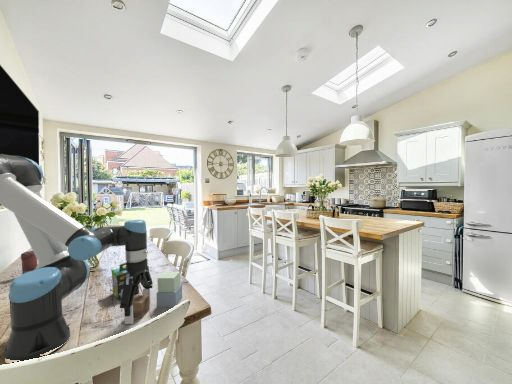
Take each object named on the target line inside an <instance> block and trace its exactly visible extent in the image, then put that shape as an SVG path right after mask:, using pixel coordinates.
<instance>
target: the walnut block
mask: <svg viewBox="0 0 512 384" xmlns="http://www.w3.org/2000/svg"><path fill="white" fill-rule="evenodd" d="M132 305H133V319H143V318H144V316H146V314H147V313H148V312H149V311H150V309H151V308H150V305H151V304H150V305H149V295H143V294H142V295H141V294H140V295H139V294H138V295H137V294H134V298H133V301H132Z"/></svg>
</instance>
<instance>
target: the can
mask: <svg viewBox="0 0 512 384" xmlns="http://www.w3.org/2000/svg"><path fill="white" fill-rule="evenodd" d="M20 261H21V272H22V274H24V273H27V272H30V271H33V270H36V269H35V268H36V267H37V265H38V259H37V257H36V256H35V254H34V252H33V250H29V251H25V252H22V253H21V254H20ZM22 274H21V275H22Z"/></svg>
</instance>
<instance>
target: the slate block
mask: <svg viewBox="0 0 512 384" xmlns="http://www.w3.org/2000/svg"><path fill="white" fill-rule="evenodd" d="M155 296H156V308H163V307H164V308H165V307H166V306H171V307H170V308H172V307H173V306H175V305H177V306H178V305H179V303H180V302H181V300H182V298H183V284H181V283H180V286H179V287H178V288H177V290H176V291H175V292H158V291H157V292H156V294H155ZM180 299H181V300H180ZM166 308H167V307H166ZM173 308H174V307H173Z"/></svg>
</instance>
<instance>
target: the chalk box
mask: <svg viewBox="0 0 512 384" xmlns="http://www.w3.org/2000/svg"><path fill="white" fill-rule="evenodd" d="M129 276H130V273H129V272H127V271H126V262H123V263H120V264H119V268H115V269H112V270H111V283H112V295H114V297H115V298H116V299H117V300H118V301H119V300H121V298H122V293H123V288H124V279H125V278H129ZM132 285H133V284H132ZM139 285H140V284H139ZM139 285H138V287H137V288H136V291H135V294H134V295H137V294H138V295H139V294H140V293H139V292H140V286H139Z"/></svg>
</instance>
